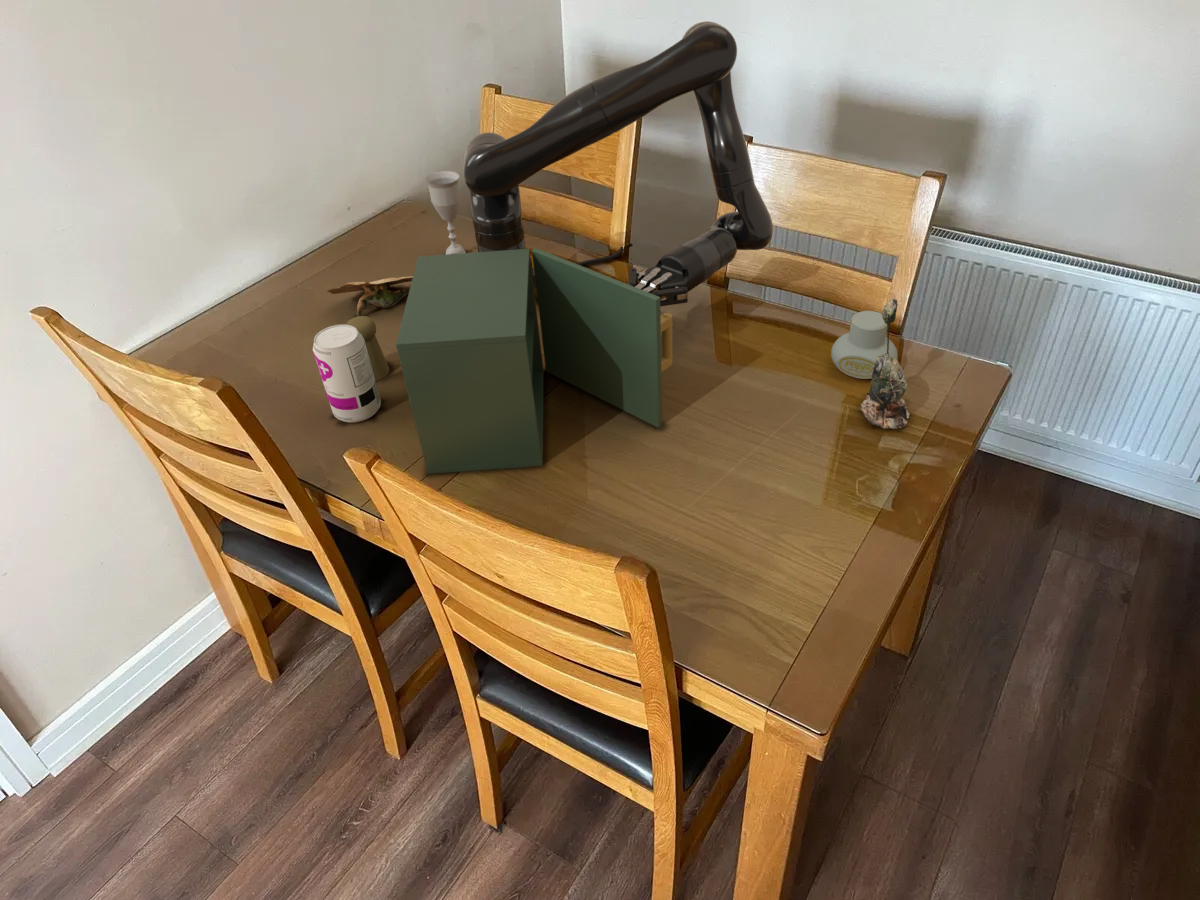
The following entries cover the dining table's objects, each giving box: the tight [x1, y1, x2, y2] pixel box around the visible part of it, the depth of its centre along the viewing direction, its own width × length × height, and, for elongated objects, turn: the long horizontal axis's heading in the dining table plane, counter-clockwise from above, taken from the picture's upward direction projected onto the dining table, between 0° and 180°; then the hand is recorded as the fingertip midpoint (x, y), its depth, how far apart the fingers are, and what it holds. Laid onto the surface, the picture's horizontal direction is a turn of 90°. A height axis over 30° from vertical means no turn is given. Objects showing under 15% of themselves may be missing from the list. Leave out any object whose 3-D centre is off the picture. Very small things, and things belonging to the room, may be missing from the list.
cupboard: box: [395, 248, 545, 475], centre depth 138 cm, size 18×26×24 cm
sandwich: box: [326, 275, 413, 317], centre depth 176 cm, size 18×14×8 cm
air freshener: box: [830, 310, 899, 380], centre depth 148 cm, size 11×8×10 cm
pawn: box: [345, 315, 390, 382], centre depth 155 cm, size 6×6×11 cm
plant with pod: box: [859, 298, 911, 430], centre depth 134 cm, size 8×11×20 cm
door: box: [531, 247, 673, 428], centre depth 142 cm, size 6×26×24 cm, turn 47°
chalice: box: [424, 170, 467, 255], centre depth 186 cm, size 7×7×18 cm
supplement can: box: [312, 324, 382, 423], centre depth 145 cm, size 8×8×15 cm
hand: (624, 306), depth 144 cm, fingers closed
